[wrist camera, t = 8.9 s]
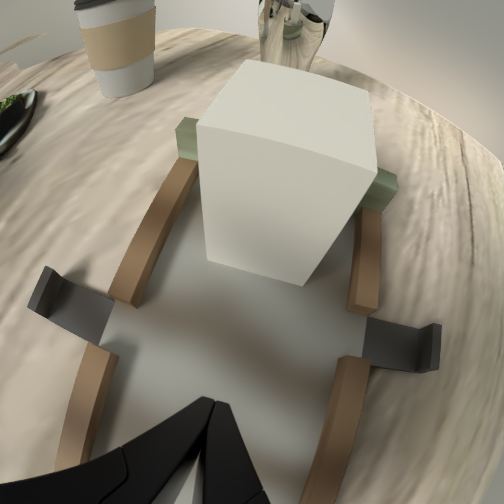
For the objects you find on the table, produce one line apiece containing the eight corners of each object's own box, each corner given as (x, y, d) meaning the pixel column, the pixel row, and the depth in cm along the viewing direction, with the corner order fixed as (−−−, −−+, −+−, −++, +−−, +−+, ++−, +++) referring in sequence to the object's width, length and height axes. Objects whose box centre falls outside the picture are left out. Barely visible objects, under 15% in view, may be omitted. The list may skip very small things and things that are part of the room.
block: (302, 286, 17) (377, 173, 8) (207, 259, 17) (196, 124, 8) (316, 209, 20) (368, 91, 11) (235, 187, 20) (246, 59, 11)
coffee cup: (177, 77, 28) (174, -34, 15) (114, 111, 25) (90, -14, 11) (138, 63, 30) (129, -28, 17) (83, 92, 27) (60, -6, 13)
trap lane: (369, 546, 9) (402, 570, 5) (10, 440, 10) (-32, 441, 6) (422, 231, 21) (452, 200, 17) (134, 152, 22) (123, 110, 18)
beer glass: (269, 112, 26) (293, -27, 13) (238, 82, 28) (250, -35, 15) (321, 103, 28) (355, -14, 15) (288, 75, 30) (309, -28, 17)
